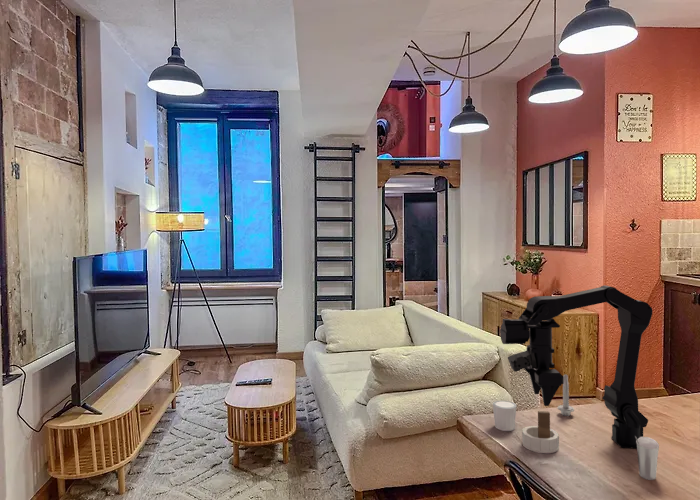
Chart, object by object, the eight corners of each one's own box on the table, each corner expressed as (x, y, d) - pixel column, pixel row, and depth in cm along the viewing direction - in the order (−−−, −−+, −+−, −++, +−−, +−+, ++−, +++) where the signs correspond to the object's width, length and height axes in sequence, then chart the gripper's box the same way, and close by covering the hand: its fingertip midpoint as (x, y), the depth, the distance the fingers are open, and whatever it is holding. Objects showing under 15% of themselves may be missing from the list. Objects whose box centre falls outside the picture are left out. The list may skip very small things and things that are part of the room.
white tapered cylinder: (518, 432, 138) (518, 408, 138) (494, 431, 139) (493, 407, 139) (515, 423, 145) (515, 400, 144) (491, 421, 146) (491, 399, 146)
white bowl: (552, 438, 133) (552, 426, 133) (563, 454, 124) (563, 440, 124) (518, 437, 134) (518, 425, 134) (527, 452, 125) (526, 439, 125)
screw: (577, 415, 150) (569, 418, 147) (562, 410, 154) (554, 414, 151) (577, 374, 149) (568, 377, 147) (562, 371, 153) (554, 374, 150)
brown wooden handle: (536, 440, 131) (536, 409, 131) (548, 440, 130) (548, 410, 130) (539, 445, 128) (539, 414, 127) (551, 446, 127) (551, 414, 127)
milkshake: (628, 472, 114) (628, 431, 114) (649, 471, 114) (649, 430, 114) (641, 482, 109) (641, 440, 109) (663, 481, 110) (663, 438, 110)
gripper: (503, 336, 139) (503, 388, 140) (518, 351, 121) (519, 412, 121) (542, 335, 138) (542, 388, 139) (564, 352, 120) (564, 412, 120)
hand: (541, 399), depth 130 cm, fingers open, 9 cm apart
